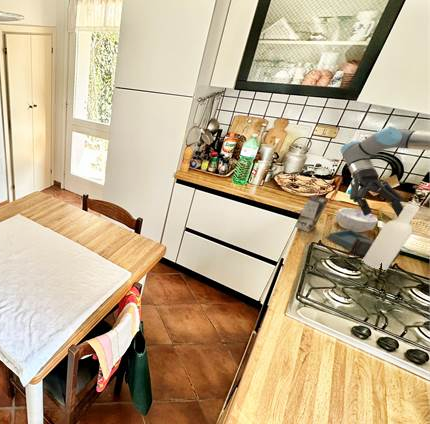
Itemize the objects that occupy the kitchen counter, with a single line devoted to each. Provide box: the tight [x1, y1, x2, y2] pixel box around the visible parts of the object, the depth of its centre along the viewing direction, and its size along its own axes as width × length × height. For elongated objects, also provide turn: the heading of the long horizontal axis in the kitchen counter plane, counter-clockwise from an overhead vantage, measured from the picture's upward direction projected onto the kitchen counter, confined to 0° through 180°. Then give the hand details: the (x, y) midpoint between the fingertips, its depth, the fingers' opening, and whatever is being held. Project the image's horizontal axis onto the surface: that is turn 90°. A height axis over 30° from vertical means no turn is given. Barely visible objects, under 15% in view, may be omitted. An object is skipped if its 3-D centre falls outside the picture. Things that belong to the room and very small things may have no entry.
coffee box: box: [294, 195, 329, 233], centre depth 154 cm, size 9×6×16 cm
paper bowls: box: [334, 207, 379, 233], centre depth 156 cm, size 15×15×8 cm
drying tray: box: [327, 229, 375, 251], centre depth 144 cm, size 14×14×3 cm
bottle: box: [363, 203, 420, 271], centre depth 122 cm, size 8×8×30 cm
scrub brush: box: [347, 237, 403, 268], centre depth 132 cm, size 14×3×9 cm, turn 58°
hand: (385, 215), depth 124 cm, fingers open, 13 cm apart
